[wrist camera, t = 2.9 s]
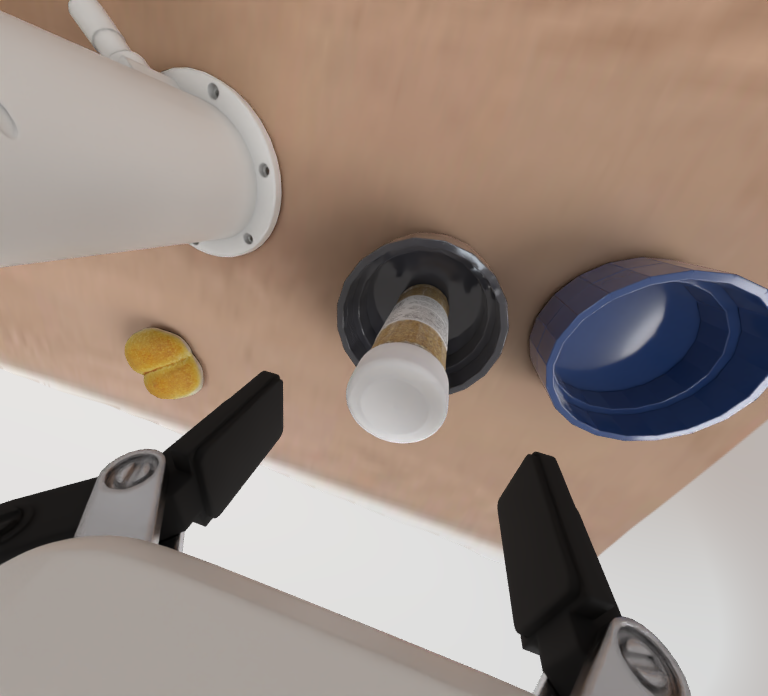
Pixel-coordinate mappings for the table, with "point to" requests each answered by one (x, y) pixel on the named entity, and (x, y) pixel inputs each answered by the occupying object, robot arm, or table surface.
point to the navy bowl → (652, 348)
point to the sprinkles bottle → (405, 371)
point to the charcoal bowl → (448, 274)
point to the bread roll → (164, 363)
